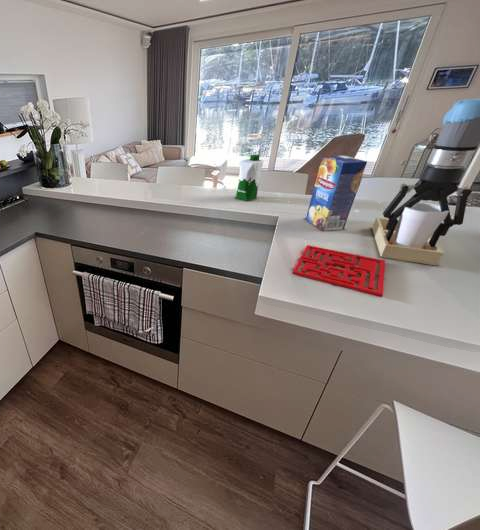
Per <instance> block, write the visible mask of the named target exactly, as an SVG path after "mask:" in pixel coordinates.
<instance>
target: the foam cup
mask: <svg viewBox="0 0 480 530" xmlns="http://www.w3.org/2000/svg"><path fill="white" fill-rule="evenodd" d="M449 211H450V210H449ZM449 211H444V212H441V209H440V205H439V204H435V203H429V202H421V201H420V202H418V203H416V204H415V205H413V206H412V207H411V208H409V207H405V209H404V211H403V213H402V215H401V216H399V217H398V220H399V221H398V225H397V229H396V233H395V236H394V240H393V245H396V246H404V247H411V248H419V249H422V248H423V246H424V245H425V244H426V242H427V241H428V240H429V238H430V237H431V236H432V235H433V233H434V231H435V230H436V229H437V227H438V226H439V225H440V223H443V220H444V219H445V218H446V216H447V214H448V212H449Z"/></svg>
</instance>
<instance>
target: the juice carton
mask: <svg viewBox="0 0 480 530" xmlns="http://www.w3.org/2000/svg"><path fill="white" fill-rule="evenodd" d="M367 164H368V161H366V160H363V159H359V158H356V157H351V156H348V155H344V154H343V155H330V156H322V157H321V161H320V164H319V168H318V172H317V175H316V179H315V182H314V187H313V190H312V193H311V198H310V201H309V205H308V209H307V212H306V216H305V220H306V221H308V222H309V223H311V224H312V225H313V226H315V227H317V228H318V229H320V230H321V231H336V230H337V231H338V230H340V231H341V230H344V229H345V228H346V224H347V221H348V218H349V216H350V212H351V209H352V206H353V204H354V200H355V197H356V195H357V192H358V189H359V187H360V185H361V180H362V178H363V175H364V172H365V169H366V167H367Z"/></svg>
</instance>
